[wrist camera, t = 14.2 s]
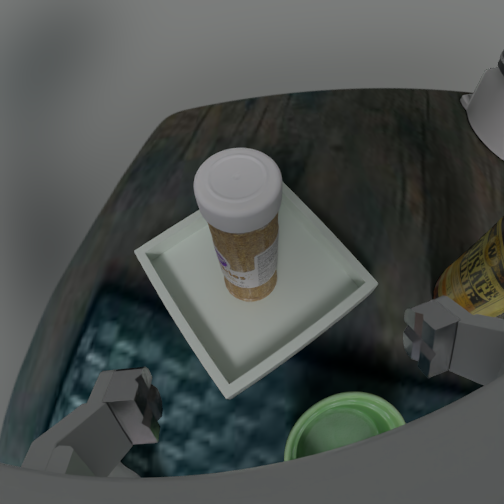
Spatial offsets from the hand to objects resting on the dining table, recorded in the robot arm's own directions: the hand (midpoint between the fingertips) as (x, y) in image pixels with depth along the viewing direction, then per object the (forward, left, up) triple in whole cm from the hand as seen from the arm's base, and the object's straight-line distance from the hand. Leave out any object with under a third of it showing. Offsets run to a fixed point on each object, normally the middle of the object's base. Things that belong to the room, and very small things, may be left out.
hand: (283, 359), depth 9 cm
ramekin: (-1, +7, -17) cm, 19 cm away
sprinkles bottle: (-4, -9, -16) cm, 19 cm away
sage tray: (-4, -9, -17) cm, 20 cm away
